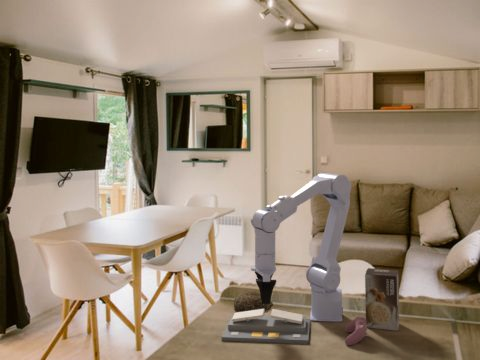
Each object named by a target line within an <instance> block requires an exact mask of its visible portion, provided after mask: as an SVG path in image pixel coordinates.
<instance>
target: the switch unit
mask: <svg viewBox="0 0 480 360" xmlns="http://www.w3.org/2000/svg"><path fill="white" fill-rule="evenodd" d="M234 314H235V313H234ZM234 314H232V315H231V316H230V317H229V320H228V322H227V325H226V326H225V329H224V331H223V333H222V335H221V339H220V340H221V341H227V342H255V343H276V344H277V343H278V344H280V343H281V344H300V345H301V344H304V345H308V344H309V340H310V339H309V338H310V328H311V327H310V326H311V324H310V323H311V321H310V318H307V316H303V317H302V324H298V323H293V322H287V323H285V322H284V321H283V320H278V319H273V318H270V316H271V314H269V315H265V314H264V315H263V318H257V319H250V320H249V321H246V320H242V321H235V322H232V318H233V316H234Z"/></svg>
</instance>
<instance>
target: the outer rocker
mask: <svg viewBox="0 0 480 360" xmlns="http://www.w3.org/2000/svg"><path fill="white" fill-rule="evenodd" d="M265 312H266V310H264V309H258V310H251V311H244V312H241V311H237V312H234V316H233V318H232V322H235V321H242V320H246V321H249V320H250V319H257V318H263V315H265Z"/></svg>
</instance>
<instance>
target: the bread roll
mask: <svg viewBox="0 0 480 360" xmlns="http://www.w3.org/2000/svg"><path fill="white" fill-rule="evenodd" d="M273 304H274V303H273V301H272V300H271V301H270V304H262V301H261V295H260V292H256V291H251V292H250V291H249V292H245V293H244V292H242V293H240V294H238V295H236V297H235V298H234V300H233V308H234V310H235V311H237V312H244V311H251V310H258V309H264V310H265V311H267V310H268V309H270V307H271V306H272V305H273Z"/></svg>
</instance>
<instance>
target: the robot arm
mask: <svg viewBox="0 0 480 360" xmlns="http://www.w3.org/2000/svg"><path fill="white" fill-rule="evenodd" d="M352 186H353V184H352V183H351V181H350V180H349V178H348V176H346V175H345V174H335V173H328V172H320V173H319V174H318V175H314V176H313V177H312V179H311V180H310V181H309V182H307V184H305V185H304V186H303V187H301V188H300V189H298V190H297V191H296V192H295V193H293V194H292V195H291V196H289V195H279V196H278V200H275V202H273V203H272V204H268V205H266V206H265V208H264V209H258V210H257V211H255V212H254V214H253V215H252V219H250V223H251V226H252V227H253V229H254V266H250V271H251V272H254V273H255V275H256V278H255V283H256V285H257V287H258V290H259V294H260V295H261V301H262V304H270V301H271V302H272V294H273V290H274V288H275V286H276V285H277V279H272V278H273V275H274V273H275V272H276V271H277V267H276V231H277V230H279V227H280V225H281V223H283V222H284V221H285V220H287V219H288V218H290V217H291V216H292V215H294V214H296V213H297V212H298V211H297V210H298V207H299V206H300V205H302V204H304V203H305V202H307V201H309V200H310V199H312V198H314V197H316V196H317V195H321V196H322V197H324V198H325V199H326V201H327V202H328V204H329V205H330V207H329V211H328V215H327V218H326V224H325V227H324V231H323V236H322V240H321V244H320V248H319V252H318V255H316V256H315V257H313V259H311V263H310V265H309V267H308V268H307V270H306V272H305V273H306V274H305V279H306V280H307V282H308V283H309V287H310V289H311V292H310V293H311V294H310V295H311V296H310V297H311V298H310V299H311V304H310V305H311V310H310V311H309V312H310V314H309V315H310V316H309V319H310V322H334V323H337V322H338V323H341V322H343V314H344V307H343V293H342V289H341V288H338V287H339V286H340V284H341V266H340V264H339V262H338V261H337V258H338V253H339V250H340V246H341V242H342V237H343V233H344V229H345V227H346V221H347V217H348V213H349V210H350V205H351V197H350V195H351V190H352V188H353V187H352Z"/></svg>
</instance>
